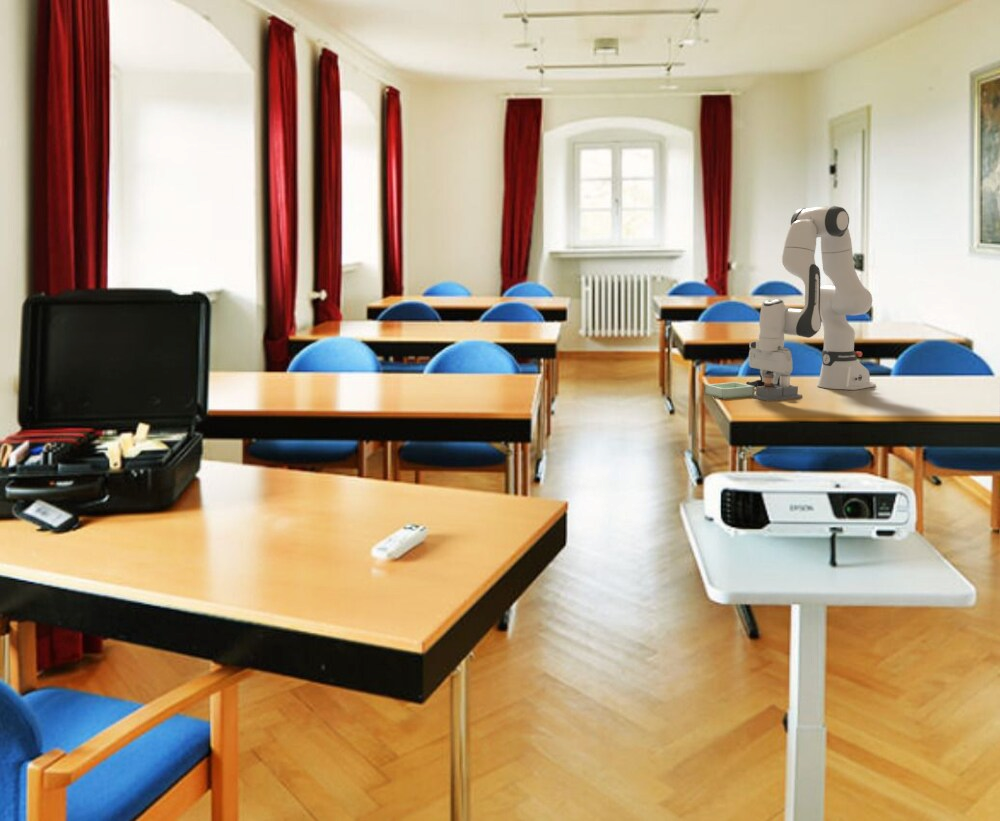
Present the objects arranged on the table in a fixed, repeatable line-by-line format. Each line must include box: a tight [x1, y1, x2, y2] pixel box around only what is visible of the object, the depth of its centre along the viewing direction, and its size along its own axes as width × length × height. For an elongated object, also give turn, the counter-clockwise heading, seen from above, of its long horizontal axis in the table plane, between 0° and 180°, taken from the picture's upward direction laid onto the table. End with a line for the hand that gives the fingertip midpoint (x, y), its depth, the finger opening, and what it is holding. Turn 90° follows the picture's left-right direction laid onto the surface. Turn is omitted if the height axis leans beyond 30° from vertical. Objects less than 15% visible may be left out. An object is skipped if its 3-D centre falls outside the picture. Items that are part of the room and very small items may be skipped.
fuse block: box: [750, 384, 803, 402], centre depth 371 cm, size 16×9×4 cm, turn 115°
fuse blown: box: [764, 373, 775, 389], centre depth 369 cm, size 4×4×8 cm
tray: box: [704, 381, 756, 400], centre depth 377 cm, size 14×11×4 cm
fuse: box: [780, 373, 791, 387], centre depth 372 cm, size 4×4×8 cm
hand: (769, 383), depth 369 cm, fingers closed on fuse blown, 4 cm apart
